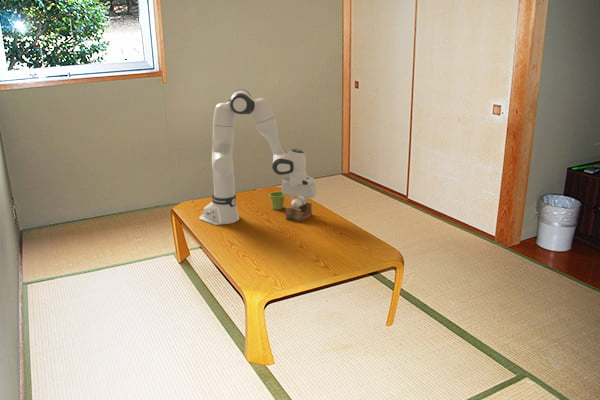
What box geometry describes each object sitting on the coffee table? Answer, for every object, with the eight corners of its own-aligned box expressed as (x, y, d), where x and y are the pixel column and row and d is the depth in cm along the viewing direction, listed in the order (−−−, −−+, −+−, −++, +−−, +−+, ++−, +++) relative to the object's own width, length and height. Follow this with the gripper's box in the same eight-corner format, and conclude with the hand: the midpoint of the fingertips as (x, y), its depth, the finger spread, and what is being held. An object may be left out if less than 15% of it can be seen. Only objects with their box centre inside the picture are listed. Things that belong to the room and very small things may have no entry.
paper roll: (299, 209, 286) (298, 200, 285) (291, 207, 289) (290, 199, 287) (306, 204, 293) (306, 195, 291) (298, 203, 295) (298, 194, 294)
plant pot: (267, 207, 309) (266, 193, 306) (282, 204, 313) (281, 190, 310) (273, 212, 301) (272, 197, 298) (288, 209, 305) (288, 195, 302)
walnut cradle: (286, 219, 290) (285, 207, 287) (297, 212, 300) (297, 200, 298) (300, 222, 285) (300, 210, 283) (311, 214, 296) (311, 202, 294)
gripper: (278, 178, 288) (279, 202, 292) (311, 182, 278) (312, 207, 283) (284, 175, 293) (285, 198, 298) (317, 179, 284) (317, 204, 288)
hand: (298, 203), depth 290 cm, fingers closed on paper roll, 5 cm apart
